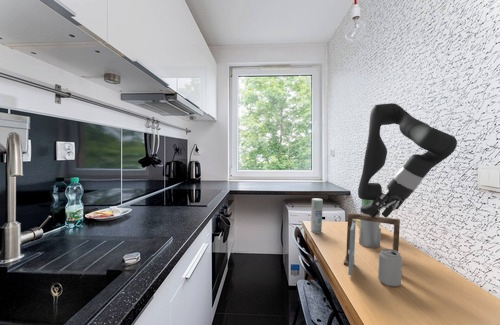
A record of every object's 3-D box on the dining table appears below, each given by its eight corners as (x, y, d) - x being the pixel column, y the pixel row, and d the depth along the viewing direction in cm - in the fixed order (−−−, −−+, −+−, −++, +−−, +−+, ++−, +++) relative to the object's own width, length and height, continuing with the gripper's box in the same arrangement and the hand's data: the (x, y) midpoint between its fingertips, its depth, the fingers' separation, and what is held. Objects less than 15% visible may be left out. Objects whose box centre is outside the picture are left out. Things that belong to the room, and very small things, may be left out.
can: (404, 289, 84) (406, 256, 83) (381, 286, 86) (383, 254, 85) (396, 278, 91) (397, 248, 91) (375, 275, 93) (376, 246, 92)
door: (350, 260, 104) (352, 220, 103) (355, 261, 103) (357, 220, 102) (347, 274, 91) (348, 229, 90) (352, 275, 90) (354, 230, 89)
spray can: (313, 233, 140) (314, 200, 139) (308, 229, 147) (309, 198, 146) (323, 232, 142) (324, 200, 141) (318, 229, 148) (319, 198, 147)
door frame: (343, 264, 102) (345, 214, 101) (345, 257, 109) (347, 210, 108) (399, 277, 92) (402, 222, 91) (397, 268, 99) (400, 217, 98)
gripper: (405, 177, 89) (380, 209, 96) (384, 174, 82) (359, 209, 88) (424, 190, 83) (395, 222, 90) (403, 188, 76) (374, 223, 83)
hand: (377, 216), depth 89 cm, fingers open, 8 cm apart
